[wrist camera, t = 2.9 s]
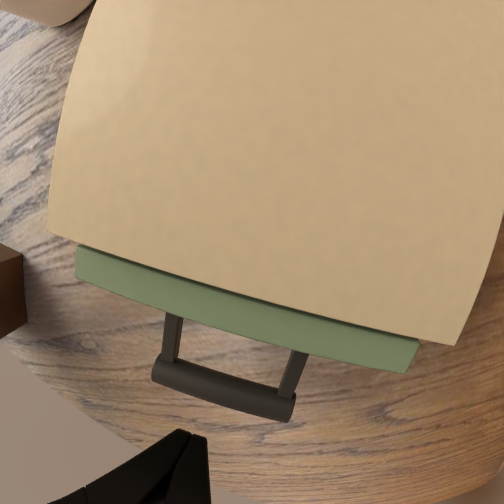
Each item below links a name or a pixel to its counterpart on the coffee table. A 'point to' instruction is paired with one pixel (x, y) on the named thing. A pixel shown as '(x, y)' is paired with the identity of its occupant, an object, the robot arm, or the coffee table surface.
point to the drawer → (241, 323)
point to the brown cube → (11, 291)
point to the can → (46, 10)
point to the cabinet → (293, 151)
